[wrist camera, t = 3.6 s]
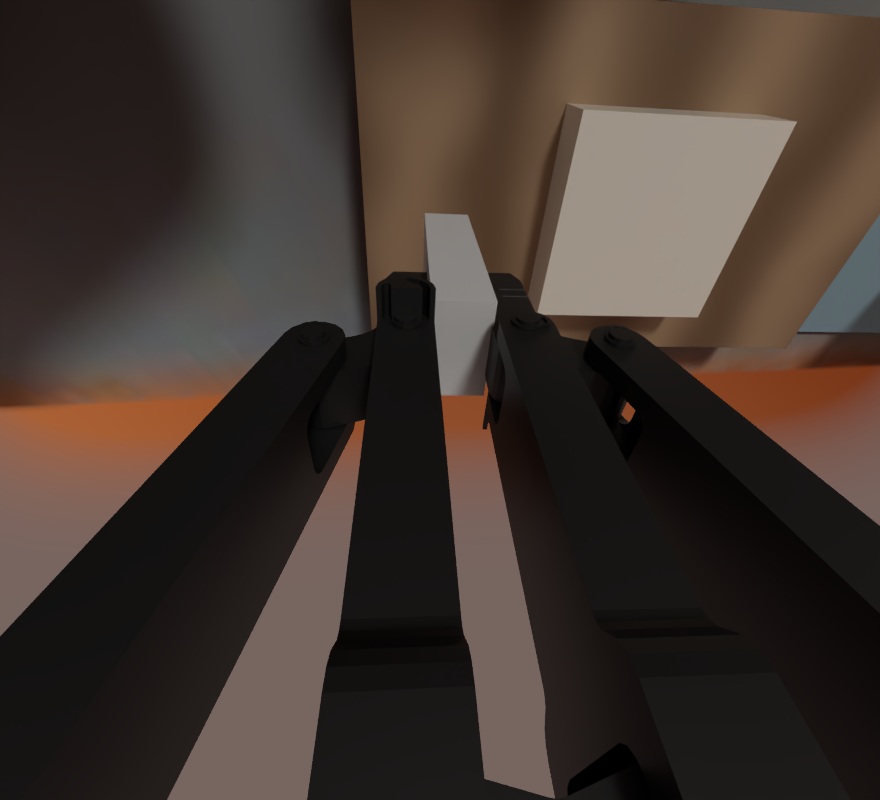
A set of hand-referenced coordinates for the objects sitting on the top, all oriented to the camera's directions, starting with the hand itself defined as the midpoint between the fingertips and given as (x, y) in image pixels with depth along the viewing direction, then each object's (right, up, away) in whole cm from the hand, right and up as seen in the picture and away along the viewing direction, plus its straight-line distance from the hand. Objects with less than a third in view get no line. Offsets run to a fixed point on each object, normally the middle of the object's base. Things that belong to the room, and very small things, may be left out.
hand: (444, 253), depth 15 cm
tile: (+8, +3, +4) cm, 10 cm away
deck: (+8, +6, +7) cm, 12 cm away
